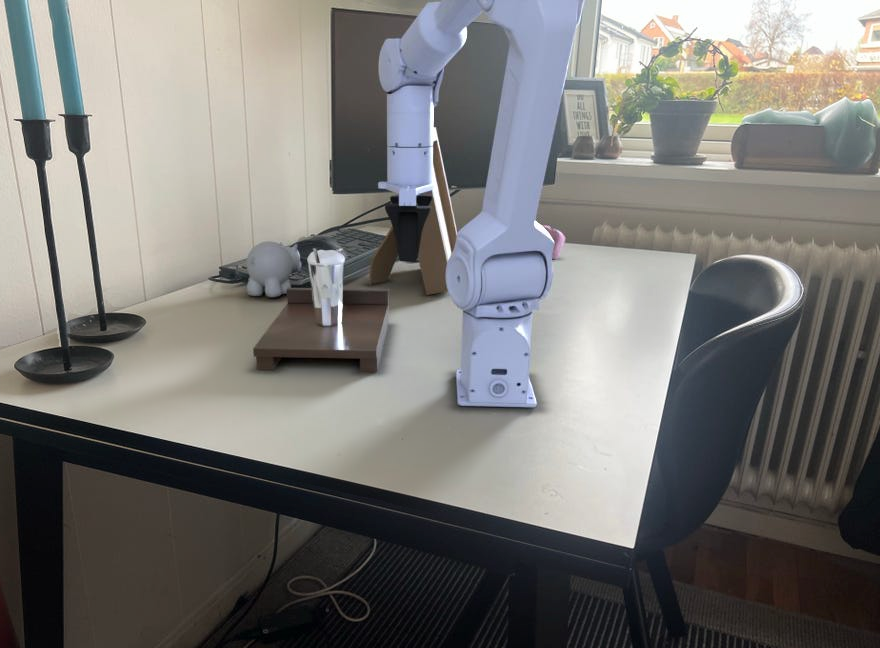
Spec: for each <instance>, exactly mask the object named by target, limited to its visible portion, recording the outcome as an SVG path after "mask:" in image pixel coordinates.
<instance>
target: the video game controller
mask: <svg viewBox="0 0 880 648" xmlns="http://www.w3.org/2000/svg"><path fill="white" fill-rule="evenodd" d="M540 225H541V226H542V227H543V228H544V229H545V230H546V231H547V232H548V233H549V235H550V236H551V238H552V239H553V241H554V243H555V244H554V249H553V254H552V260H556V259H557V258H558V257H559V256H560V253H561V252H562V250H563V249H562V248H563V245H564V244H565V242H566V237H565V235H564V234H563V232H561V231H560V230H559V229H557V228H555V227H552V226H550V225H543V224H540Z"/></svg>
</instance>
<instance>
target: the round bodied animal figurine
mask: <svg viewBox="0 0 880 648" xmlns="http://www.w3.org/2000/svg"><path fill="white" fill-rule="evenodd" d="M245 263H246V270H247V272H248V275H249V279H248V281H247V285H246V294H247V295H248V296H251V297H260V296H262V295H264V294H265V296H266V297H267V298H277V297H280V296H281V295H287V288H292V283H291V281H290V276H291V274H297V273H298V272H299V271H300V270H301V269H302V262H301V255H300V251H299V250H298V243H295V244H294V245H293V246H285V245H284V242H282V241H281V242H280V243H279V242H276V241H263V242H260V243H258V244H256V245H254V246H253V247H252V249H250V251H249V252H248V255H247V257H246V262H245Z"/></svg>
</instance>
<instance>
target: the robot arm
mask: <svg viewBox="0 0 880 648" xmlns="http://www.w3.org/2000/svg"><path fill="white" fill-rule="evenodd" d="M584 3H585V0H440V1H433V2H432V1H430V2H429V1H428V2H427V3H426V4H425V5H424V7H423V8H422V9H421V11H420V12H419V13H418V15H417V16H416V18H415V19H414V21H412V23H411V24H410V26H409V27H408V29H406V31H405V32H404V34H403V35H402V36H401V38H400V37H399V38H398V37H397V38H396V37H395V38H386V39H385V40H384V42H383V44H382V46H381V49H380V51H379V57H378V78H379V83H380V85H381V88H382V90H383V91H384V92H386V147H387V148H386V160H387V161H386V166H387V167H386V173H387V174H386V175H387V177H386V179H387V180H386V181H379V182H378V183H377V189H381V190H387V191H389V192H391V193H394V194H396V195H390V197H389V200H390V202H387V203H385V204H384V210H385V213H386V214H387V217H388V218H389V220H390V223H391V227H392V226H393V230H394V234H395V239H396V245H397V250H398V259H399V262H414V263H415V262H417V260H418V253H419V248H420V241H421V235H422V231H423V227H424V224H425V221H426V219H427V217H428V214H429V212H430V210H431V206H429V204H430V202H431V200H432V194H421V193H424V192H428V191H431V190H433V189H434V183H433V128H434V118H435V117H434V113H435V111H434V109H435V107H437V106H438V103H439V92H440V87H441V84H442V81H443V77H444V70H445V68H444V67H445V66H447V64H448V63H449V62H450V61H451V60H452V59H453V57H455V55H456V54H457V53H458V52H459V51H460V50H461V49H462V48H463V46H464V45H465V43H466V41H467V35H468V30H467V27H468V26H469V25H470V24H471V23H472V22H473V21H475V20H476V19H477V18H478V17H479V16H480V15H481V14H482V13H484V14H485V16H486V17H487V18H488V20H489V21H490V22H492V23H493V24H495V25H497V26H498V27H501V29H502V30H503V31H504V33H505V36H506V38H507V39H508V42H509V45H508V47H509V48H508V53H507V57H506V64H505V70H504V77H503V83H502V89H501V95H500V101H499V106H498V110H497V111H498V112H497V118H496V123H495V130H494V136H493V142H492V147H491V148H492V149H491V154H490V160H489V164H488V165H489V167H488V170H487V171H488V173H487V178H486V184H485V191H484V196H483V203H482V209H481V212H480V213H478V215H476V216H475V217H474V218H473V219H471V220H470V221H469V222H467V223H466V224H465V225H464V226H463V227H462V228H460V229H459V230H458V231H457V238H456V243H455V247H454V250H453V252H452V254H451V256H450V258H449V260H448V262H447V266H446V285H447V290H448V291H447V293H448V295H449V297H450V299H451V301H452V302H453V304H454V305H455V306H456V307H457V308H458V309H460V310H461V311H462V322H461V324H462V325H461V348H460V349H461V353H460V368H459V369H457V370H455V381H456V397H457V405H458V406H461V407H495V408H496V407H497V408H498V407H501V408H536V407H537V405H538V402H537V399H536V396H535V393H534V389H533V386H532V383H531V380H530V363H531V362H530V361H531V338H532V337H531V336H532V321H533V312H534V311H538V310H539V308H540V301H542V300H544V299H545V298H546V297H547V296H548V294H549V293H550V290H551V287H552V284H553V279H554V266H553V259H552V254H553V249H554V244H555V243H554V241H553V239H552V238H551V236H550V235H549V233H548V232H547V231H546V230H545V229H544V228H543V227H542V226H543V225H542V224H540V223H538V222H537V221H536V220H537V219H536V218H537V215H538V209H539V205H540V200H541V195H542V191H543V186H544V182H545V177H546V171H547V167H548V163H549V158H550V153H551V149H552V143H553V139H554V135H555V129H556V124H557V120H558V116H559V115H558V114H559V110H560V105H561V102H562V101H561V100H562V96H563V92H564V87H565V83H566V78H567V73H568V67H569V63H570V60H571V59H570V58H571V54H572V49H573V46H574V45H573V44H574V40H575V35H576V29H577V27H578V26H579V24H580V22H581V17H582V14H583V13H582V12H583V8H584ZM541 225H542V226H541Z"/></svg>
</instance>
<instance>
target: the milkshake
mask: <svg viewBox="0 0 880 648" xmlns="http://www.w3.org/2000/svg"><path fill="white" fill-rule="evenodd" d="M306 260H307V268H308V274H309V282H310V288H312V297H313V306H314V315H315V322H316V324H317V325H321V326H333V325H338V324H339V323H341V320H342V298H343V289H344V276H345V263H346V257H345V256H344V255H343V254H342V253H341V252H339V251H338V250H335V249H327V250H324V249H319V250H318V249H317V248H316V247H313V248H312V251H311V252H310V253H309V255H308V256H307V259H306Z"/></svg>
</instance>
